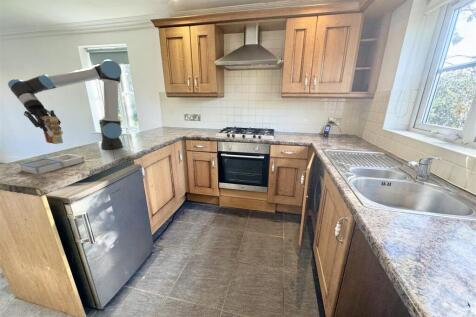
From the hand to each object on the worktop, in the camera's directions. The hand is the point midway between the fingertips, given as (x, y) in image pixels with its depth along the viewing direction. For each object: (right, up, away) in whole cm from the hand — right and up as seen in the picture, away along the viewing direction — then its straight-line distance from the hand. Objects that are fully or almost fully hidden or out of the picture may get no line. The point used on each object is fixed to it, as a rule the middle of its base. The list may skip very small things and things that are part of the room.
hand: (56, 134), depth 113 cm
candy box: (-4, -5, +3) cm, 7 cm away
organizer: (-5, -18, +4) cm, 19 cm away
